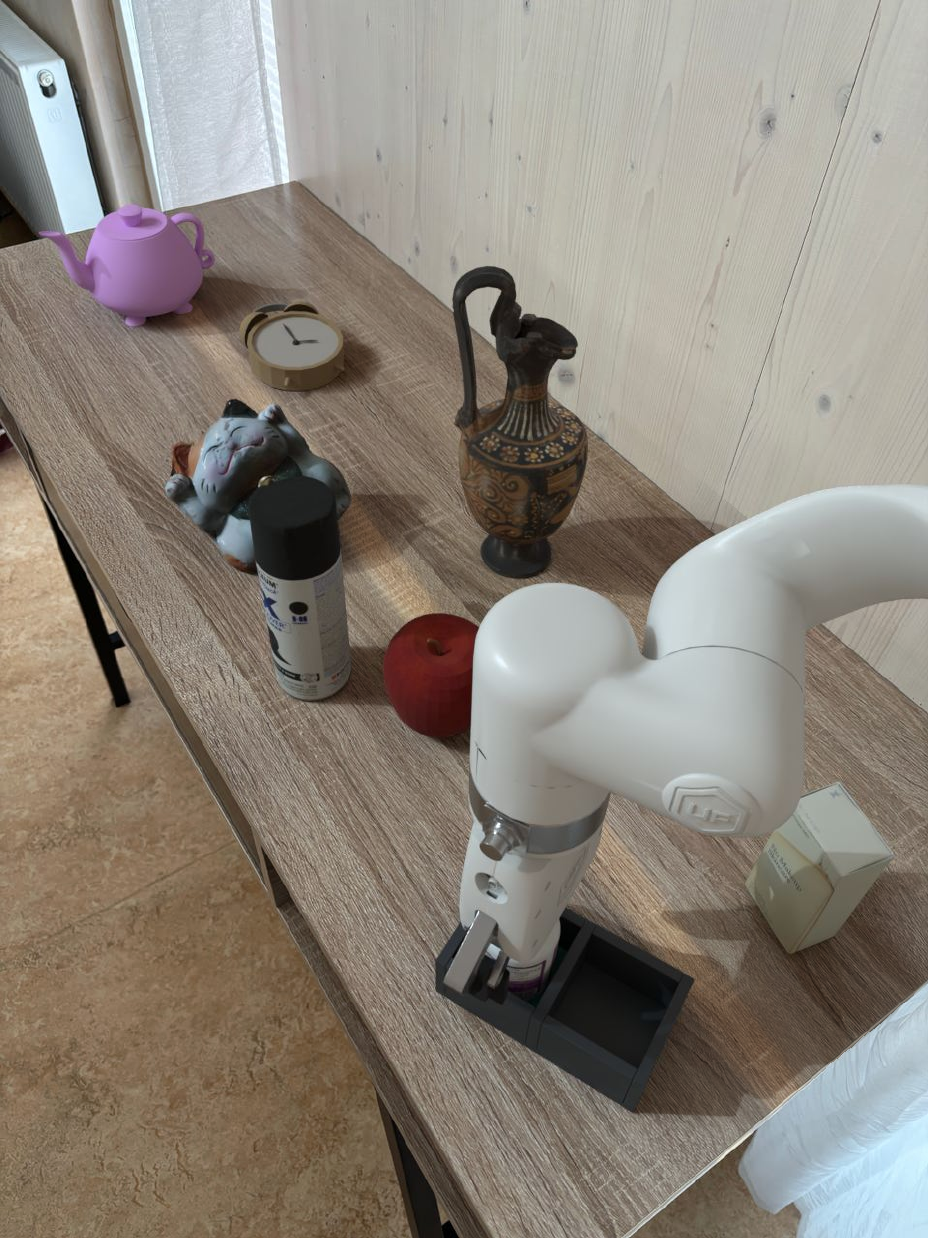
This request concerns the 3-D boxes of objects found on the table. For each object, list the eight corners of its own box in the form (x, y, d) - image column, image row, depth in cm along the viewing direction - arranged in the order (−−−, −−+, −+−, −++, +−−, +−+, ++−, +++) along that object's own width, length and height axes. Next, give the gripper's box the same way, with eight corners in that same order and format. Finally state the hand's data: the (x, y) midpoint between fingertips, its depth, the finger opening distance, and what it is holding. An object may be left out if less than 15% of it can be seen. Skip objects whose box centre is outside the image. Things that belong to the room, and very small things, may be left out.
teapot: (82, 353, 122) (53, 256, 113) (51, 298, 130) (21, 203, 121) (238, 311, 129) (223, 216, 120) (199, 261, 137) (182, 169, 128)
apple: (473, 660, 91) (476, 583, 84) (513, 743, 85) (520, 667, 78) (372, 688, 89) (366, 610, 81) (406, 775, 83) (403, 700, 75)
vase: (574, 595, 97) (615, 315, 74) (445, 589, 97) (447, 307, 75) (572, 514, 105) (608, 237, 82) (452, 508, 105) (456, 231, 83)
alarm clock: (269, 382, 114) (220, 298, 121) (272, 413, 118) (224, 331, 125) (360, 356, 118) (308, 276, 124) (359, 387, 122) (309, 308, 128)
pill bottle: (504, 918, 74) (511, 851, 67) (566, 960, 72) (580, 896, 65) (460, 976, 71) (463, 913, 64) (524, 1022, 69) (534, 962, 62)
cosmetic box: (742, 884, 77) (783, 798, 68) (791, 865, 78) (838, 777, 69) (789, 959, 73) (839, 878, 64) (841, 937, 74) (897, 855, 65)
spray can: (267, 657, 91) (234, 485, 76) (339, 635, 93) (321, 464, 78) (288, 712, 87) (258, 542, 72) (363, 688, 89) (349, 518, 74)
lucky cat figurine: (245, 600, 95) (157, 481, 88) (215, 562, 105) (135, 452, 98) (373, 509, 98) (299, 386, 90) (333, 480, 108) (263, 368, 100)
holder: (681, 1008, 70) (695, 978, 67) (632, 1113, 66) (644, 1087, 62) (492, 901, 75) (495, 867, 72) (434, 991, 71) (435, 960, 67)
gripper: (521, 952, 47) (504, 1076, 60) (670, 702, 57) (629, 853, 70) (388, 875, 50) (399, 1009, 63) (553, 649, 60) (533, 804, 73)
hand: (520, 927), depth 66 cm, fingers open, 9 cm apart
